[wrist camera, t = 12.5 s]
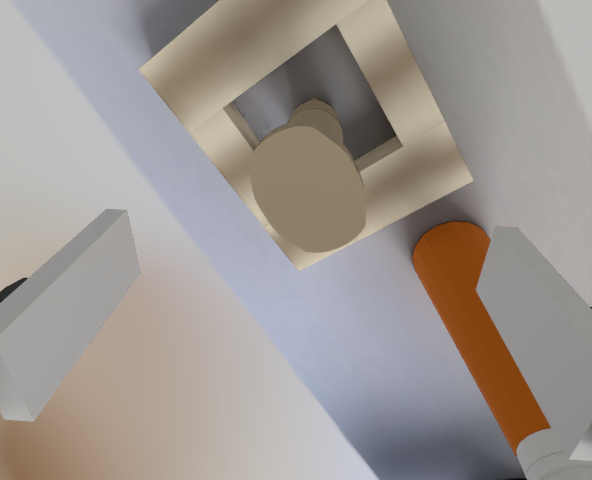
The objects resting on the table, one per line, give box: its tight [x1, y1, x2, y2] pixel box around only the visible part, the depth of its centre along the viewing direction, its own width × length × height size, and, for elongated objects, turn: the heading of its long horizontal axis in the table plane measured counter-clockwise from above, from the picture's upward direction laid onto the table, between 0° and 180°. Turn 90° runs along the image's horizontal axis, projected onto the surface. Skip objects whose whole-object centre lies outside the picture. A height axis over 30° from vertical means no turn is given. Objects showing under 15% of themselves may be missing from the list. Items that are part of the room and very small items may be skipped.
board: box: [139, 0, 474, 271], centre depth 30 cm, size 20×16×3 cm
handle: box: [249, 98, 366, 253], centre depth 25 cm, size 5×6×15 cm
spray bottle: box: [412, 221, 592, 480], centre depth 25 cm, size 7×11×26 cm, turn 100°
